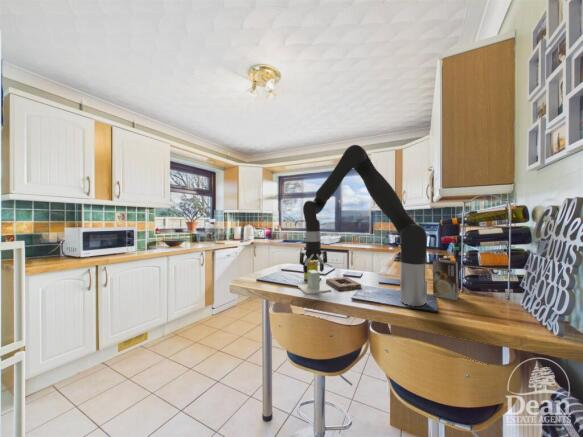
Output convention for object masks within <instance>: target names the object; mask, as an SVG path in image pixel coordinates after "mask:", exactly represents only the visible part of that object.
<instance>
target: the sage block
mask: <svg viewBox="0 0 583 437" xmlns="http://www.w3.org/2000/svg"><path fill="white" fill-rule="evenodd" d="M320 274H321V273H320V271H319V270H318V271H316V270H308V281H307V284H308V287H310V288H311V289H320V283H321V278H320V277H321V276H320Z"/></svg>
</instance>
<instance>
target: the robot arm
mask: <svg viewBox="0 0 583 437" xmlns="http://www.w3.org/2000/svg"><path fill="white" fill-rule="evenodd" d="M368 155H369V154H367V151H366V150H365V148H364V147H362V146H360V145H359V144H352V145H350V146H348V147H347V148H346V149H345V150H344V153H343V154H342V156H341V157H340V159H339V160H338V163H337V164H336V166H335V167H334V169H333V170H332V171H331V173H330V174H329V176H328V177H327V178H326V179H325V180H324V182H323V183H322V184H321V185H320V187H319V188H318V189H317V191H316V192H315V198H314V199H313V200H306V201H305V202H304V203H303V207H302V212H303V217H304V221H305V238H304V239H305V252H302V251H301V252H299V264H300V265H302V266H303V267H302V268H303V273H304V272H305V273H307V264H308V263H309V262H310V260H311V261H313V260H314V261H318V262H319V272H323V271H324V269H325V264H326V263H328V252H327V251H326V250H321V249H322V245H321V243H322V242H321V241H322V240H321V236H322V235H321V225H320V224H321V222H320V220H318V218H317V215H319V213H321V212H322V210H324V207H325V206H326V205H327V202H328V200H330V198H332V196H333V195H334V194H335V193H336V191H337V190H338V188H339V187H340V185H341V183H342V182H343V180H344V179H345V177H346V176H347V175H348V174H349V172H351V171H352V170H353V169H354V171H355V172H356V173H357V174H358V176H359V177H360V178H361V180H362V182H363V183H364V187H365V188H366V189H367V192H368V194H369V195H370V197H371V199H372V200H373V201H374V203H375V204H376V206H378V209H380V210H381V211H382V213H383V214H384V215H385V216H386V217H387V218H388V220H390V222H391V224H392V225H393V226H394V228H395V230H396V231H397V235H399V238H400V263H399V264H400V266H399V267H400V270H399V271H400V284H399V286H400V303H402V302H403V303H404V304H403V303H402V304H403V305H405V304H408V305H407V306H409V305H415V306H421V305H424V304H425V303H427V304H428V282H427V280H426V257H427V244H428V243H427V237H428V236H427V233H426V231H425V229H424V228H423V226H421V225H419V224H417V223H416V222H415V221H414V220H413V219H412V217H411V216H410V215H409V213H407V211H406V210H405V208H404V205H403V203H402V201H401V199H400V197H399V195H398V194H397V192H396V191H395V190H394V188H393V187H392V186H391V183H389V181H388V180H387V179H386V178H385V177H384V176H383V175H382V174H381V173H380V172H379V171H378V170H377V167H375V165H374V163H372V161H371V158H370V157H369V156H368ZM321 255H322V257H321ZM305 256H306V257H305ZM304 257H305V258H304ZM425 305H426V304H425ZM425 305H424V306H425Z"/></svg>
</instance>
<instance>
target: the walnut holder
mask: <svg viewBox="0 0 583 437" xmlns="http://www.w3.org/2000/svg"><path fill="white" fill-rule="evenodd" d="M325 283H326V284H328V285H329V286H331V287H332V288H334V289H335V290H337V291H339V292H341V291H343V292H344V291H348V290H357V289H358V290H359V289H362V283H360V282H357V281H355V280H353V279H351V278H350V277H348V276H342V277H333V278H325Z"/></svg>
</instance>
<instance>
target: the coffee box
mask: <svg viewBox="0 0 583 437" xmlns="http://www.w3.org/2000/svg"><path fill="white" fill-rule="evenodd" d="M432 297H438V298H441V299H442V298H443V299H447V300H451V301H452V300H453V301H457V300H458V299H459V261H454V260H445V259H434V260H433V261H432Z"/></svg>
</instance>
